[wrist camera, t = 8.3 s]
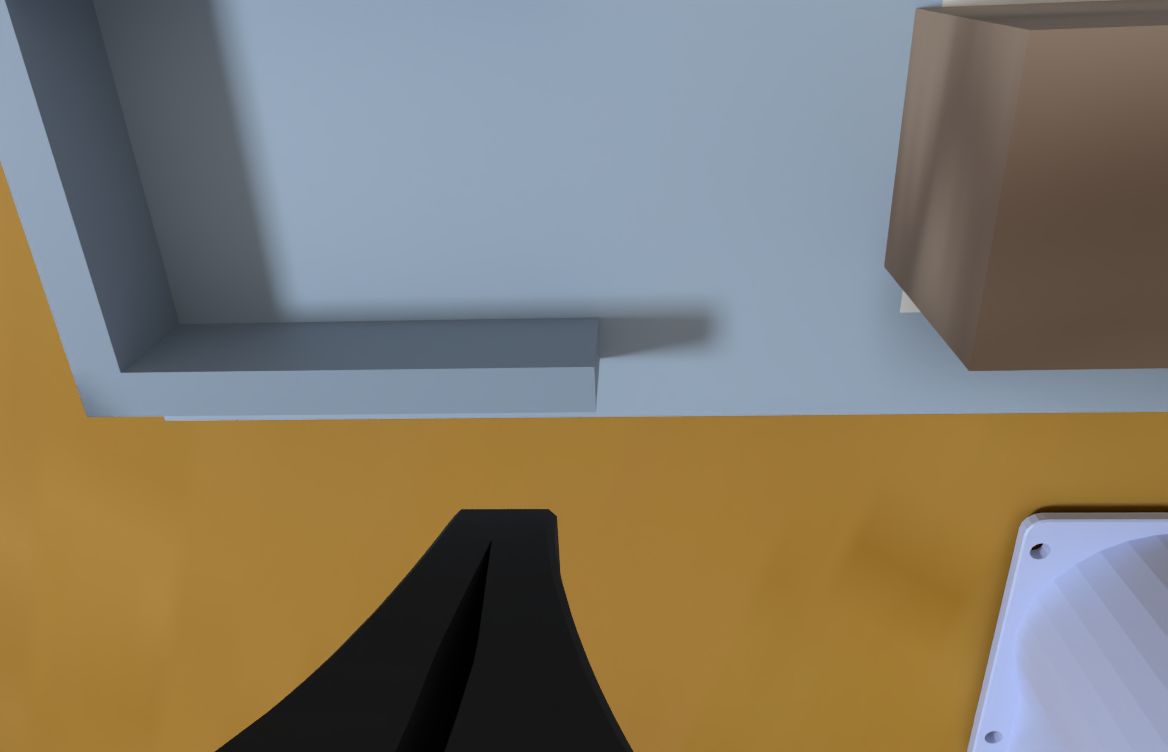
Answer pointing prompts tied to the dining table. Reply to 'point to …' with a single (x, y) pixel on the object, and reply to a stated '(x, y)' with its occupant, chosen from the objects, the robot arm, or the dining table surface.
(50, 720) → the dining table surface
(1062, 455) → the dining table surface
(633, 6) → the deck
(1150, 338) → the walnut block
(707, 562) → the dining table surface
